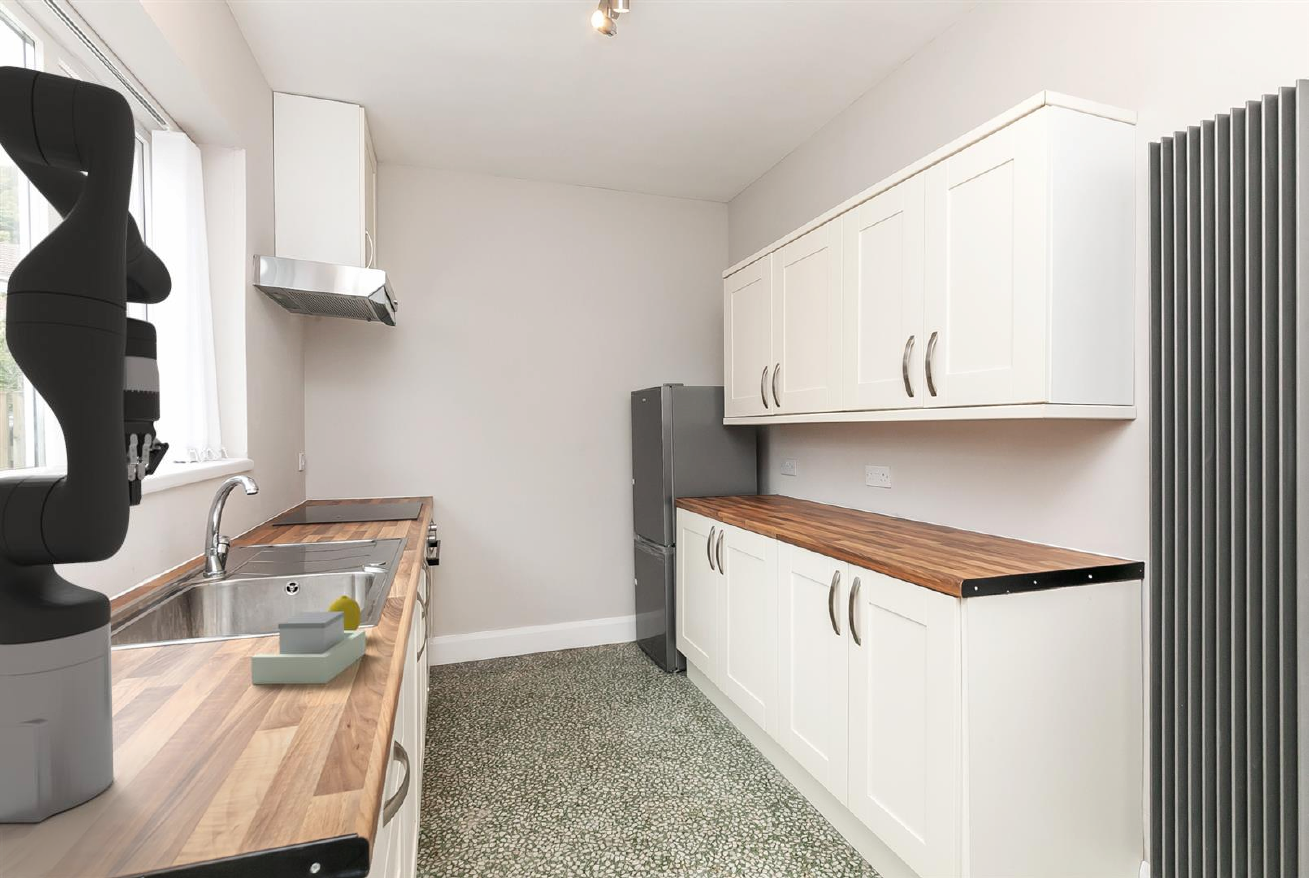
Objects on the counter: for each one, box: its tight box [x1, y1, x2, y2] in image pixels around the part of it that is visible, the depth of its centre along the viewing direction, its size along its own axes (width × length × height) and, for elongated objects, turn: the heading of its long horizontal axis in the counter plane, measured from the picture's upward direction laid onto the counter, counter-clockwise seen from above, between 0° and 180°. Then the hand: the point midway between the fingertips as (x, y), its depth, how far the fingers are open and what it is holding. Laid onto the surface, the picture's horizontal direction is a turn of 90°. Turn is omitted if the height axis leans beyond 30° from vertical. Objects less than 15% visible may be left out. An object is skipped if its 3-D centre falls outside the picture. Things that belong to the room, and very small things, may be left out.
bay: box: [251, 630, 366, 685], centre depth 99 cm, size 12×11×4 cm
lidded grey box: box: [277, 611, 344, 654], centre depth 99 cm, size 6×7×8 cm
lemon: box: [327, 595, 362, 631], centre depth 113 cm, size 6×6×8 cm
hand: (129, 505), depth 92 cm, fingers closed
